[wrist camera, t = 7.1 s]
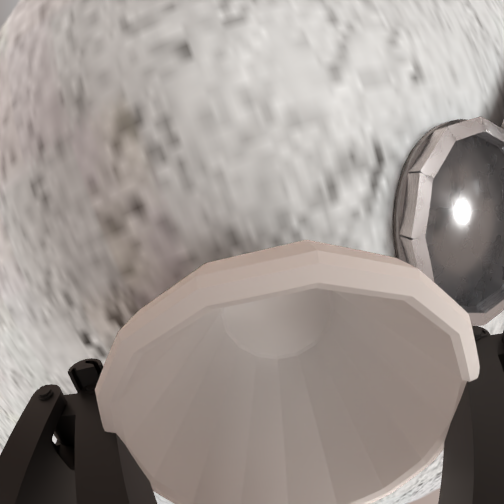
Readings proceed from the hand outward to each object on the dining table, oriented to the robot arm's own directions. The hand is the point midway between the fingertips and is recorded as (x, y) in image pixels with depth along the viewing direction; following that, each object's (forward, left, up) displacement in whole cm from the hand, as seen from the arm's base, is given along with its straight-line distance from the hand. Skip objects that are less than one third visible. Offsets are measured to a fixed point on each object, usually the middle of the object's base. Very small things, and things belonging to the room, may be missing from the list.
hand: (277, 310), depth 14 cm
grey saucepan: (+12, +21, -7) cm, 25 cm away
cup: (0, 0, -1) cm, 1 cm away
